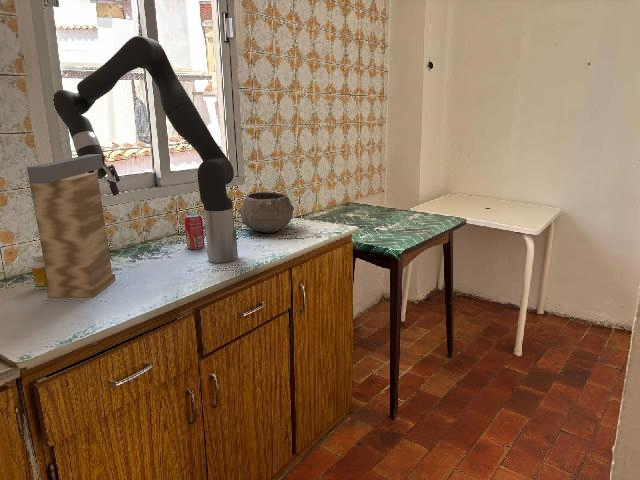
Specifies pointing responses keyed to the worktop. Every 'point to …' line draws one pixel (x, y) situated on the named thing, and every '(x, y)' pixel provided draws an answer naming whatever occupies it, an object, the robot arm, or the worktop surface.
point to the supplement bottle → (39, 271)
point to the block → (64, 168)
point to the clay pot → (266, 211)
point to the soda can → (194, 231)
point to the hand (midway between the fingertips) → (106, 194)
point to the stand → (73, 236)
